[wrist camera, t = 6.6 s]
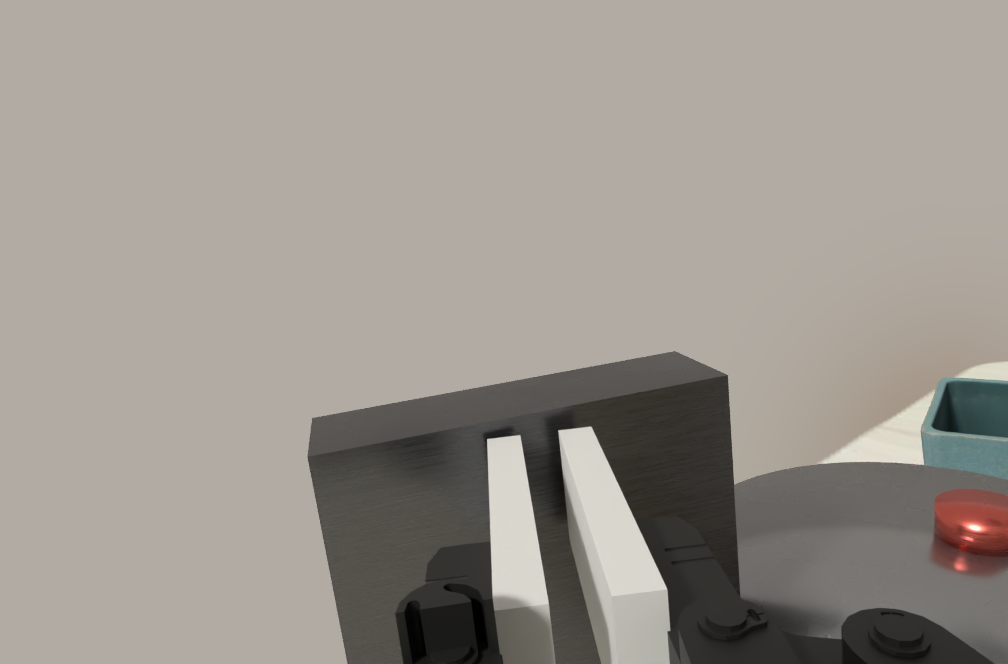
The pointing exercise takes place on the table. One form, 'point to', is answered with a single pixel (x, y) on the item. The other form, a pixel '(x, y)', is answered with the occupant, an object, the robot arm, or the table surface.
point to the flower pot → (968, 427)
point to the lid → (651, 507)
